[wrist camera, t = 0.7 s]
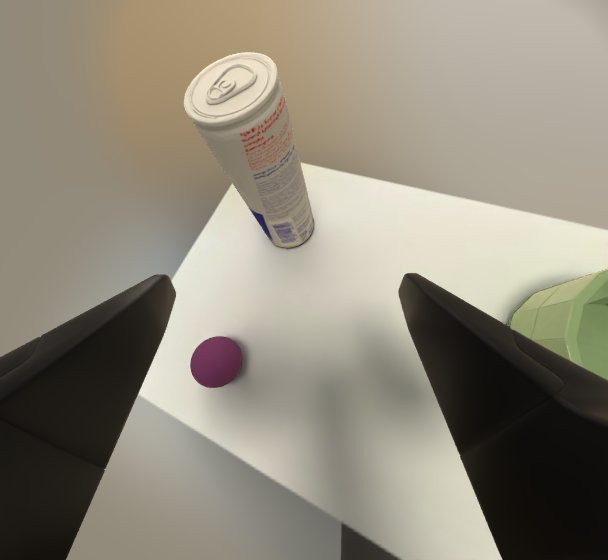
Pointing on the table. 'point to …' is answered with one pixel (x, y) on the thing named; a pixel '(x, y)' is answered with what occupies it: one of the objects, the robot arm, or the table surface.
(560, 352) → the green bowl
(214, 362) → the ball
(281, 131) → the beverage can
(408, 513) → the table surface
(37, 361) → the robot arm
